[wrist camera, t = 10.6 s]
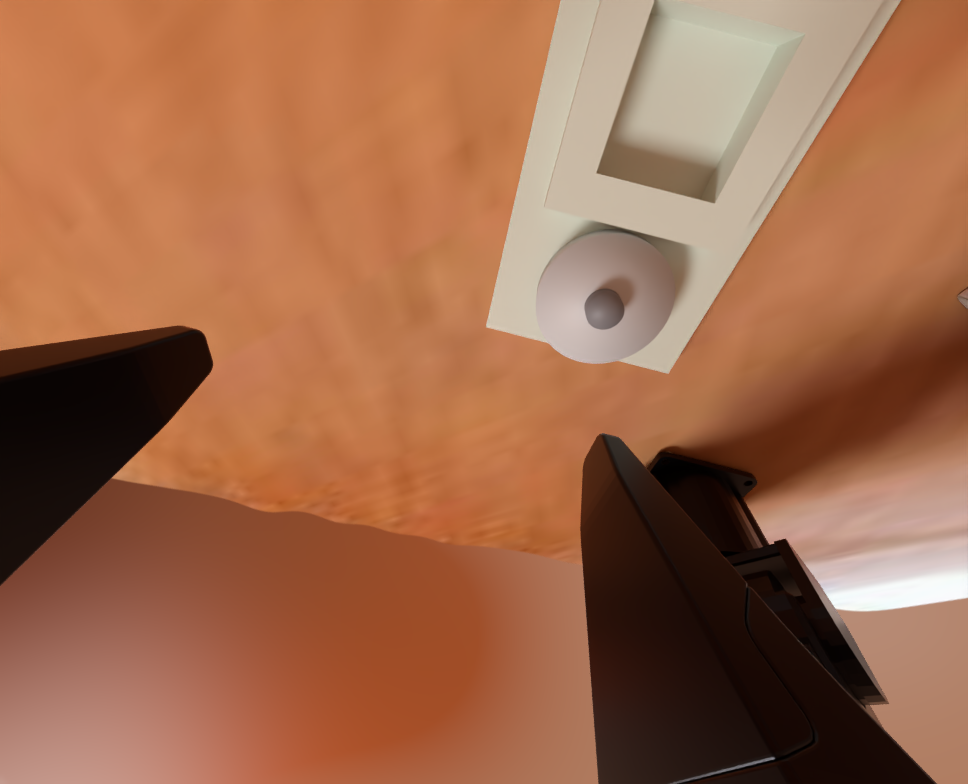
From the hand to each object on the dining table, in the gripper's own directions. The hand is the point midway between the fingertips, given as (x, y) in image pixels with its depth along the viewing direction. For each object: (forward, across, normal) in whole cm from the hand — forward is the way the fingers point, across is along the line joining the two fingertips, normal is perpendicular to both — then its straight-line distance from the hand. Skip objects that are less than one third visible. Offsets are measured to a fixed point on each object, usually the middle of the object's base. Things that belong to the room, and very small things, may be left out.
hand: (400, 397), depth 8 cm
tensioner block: (+12, -6, -4) cm, 14 cm away
